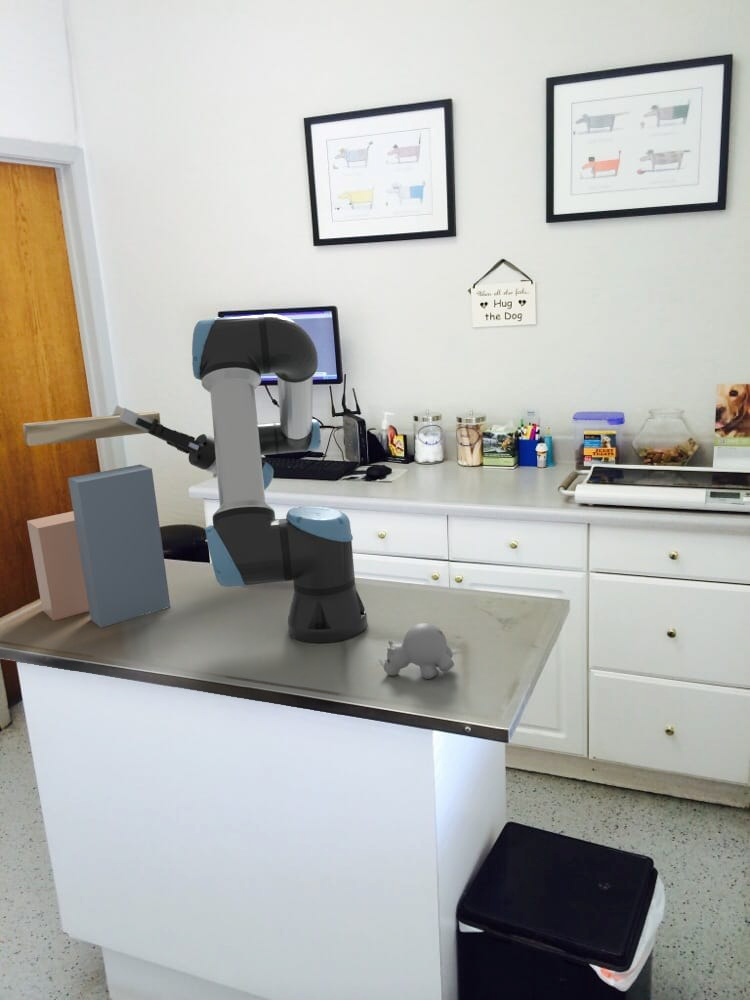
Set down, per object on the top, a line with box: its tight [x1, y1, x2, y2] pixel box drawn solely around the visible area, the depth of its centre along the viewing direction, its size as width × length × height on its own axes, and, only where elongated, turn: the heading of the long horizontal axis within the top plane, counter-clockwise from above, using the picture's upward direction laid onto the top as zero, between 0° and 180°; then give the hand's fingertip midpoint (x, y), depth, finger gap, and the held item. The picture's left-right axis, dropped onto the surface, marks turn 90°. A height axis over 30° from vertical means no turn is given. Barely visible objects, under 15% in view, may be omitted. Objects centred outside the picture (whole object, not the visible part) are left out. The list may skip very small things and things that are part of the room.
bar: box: [22, 410, 161, 447], centre depth 179 cm, size 4×27×4 cm, turn 124°
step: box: [26, 510, 89, 622], centre depth 182 cm, size 8×10×20 cm
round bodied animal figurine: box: [378, 622, 455, 680], centre depth 143 cm, size 7×12×8 cm, turn 84°
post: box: [67, 463, 171, 628], centre depth 176 cm, size 6×15×30 cm, turn 127°
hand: (118, 412), depth 181 cm, fingers closed on bar, 4 cm apart
